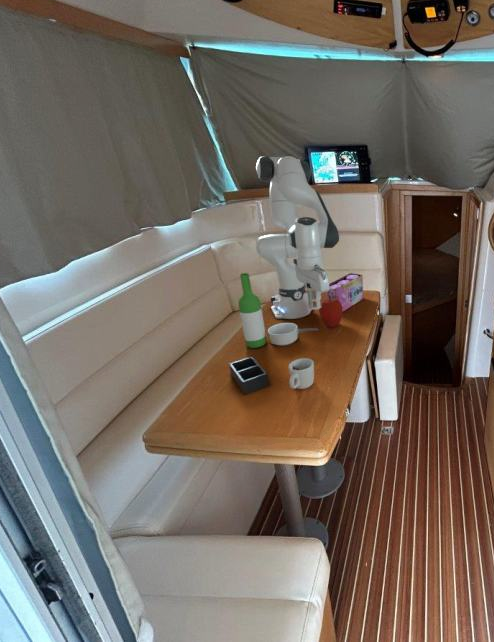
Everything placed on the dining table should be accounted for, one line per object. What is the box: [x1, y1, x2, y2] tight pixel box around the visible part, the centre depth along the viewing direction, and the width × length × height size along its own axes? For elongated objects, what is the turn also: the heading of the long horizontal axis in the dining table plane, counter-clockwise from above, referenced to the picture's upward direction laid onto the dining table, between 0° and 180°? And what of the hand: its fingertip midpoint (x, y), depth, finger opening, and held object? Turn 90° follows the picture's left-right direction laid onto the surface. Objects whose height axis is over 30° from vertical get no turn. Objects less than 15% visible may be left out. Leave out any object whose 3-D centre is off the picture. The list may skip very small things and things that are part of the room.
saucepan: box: [267, 322, 319, 346], centre depth 149 cm, size 12×20×6 cm, turn 92°
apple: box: [318, 298, 343, 328], centre depth 162 cm, size 10×10×14 cm
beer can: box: [306, 280, 322, 311], centre depth 138 cm, size 5×5×12 cm
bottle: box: [237, 272, 268, 349], centre depth 141 cm, size 8×8×30 cm
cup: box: [287, 357, 315, 390], centre depth 118 cm, size 11×8×8 cm
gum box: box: [325, 272, 365, 313], centre depth 185 cm, size 24×8×14 cm, turn 159°
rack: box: [228, 356, 270, 395], centre depth 122 cm, size 15×8×5 cm, turn 43°
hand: (314, 297), depth 139 cm, fingers closed on beer can, 5 cm apart
